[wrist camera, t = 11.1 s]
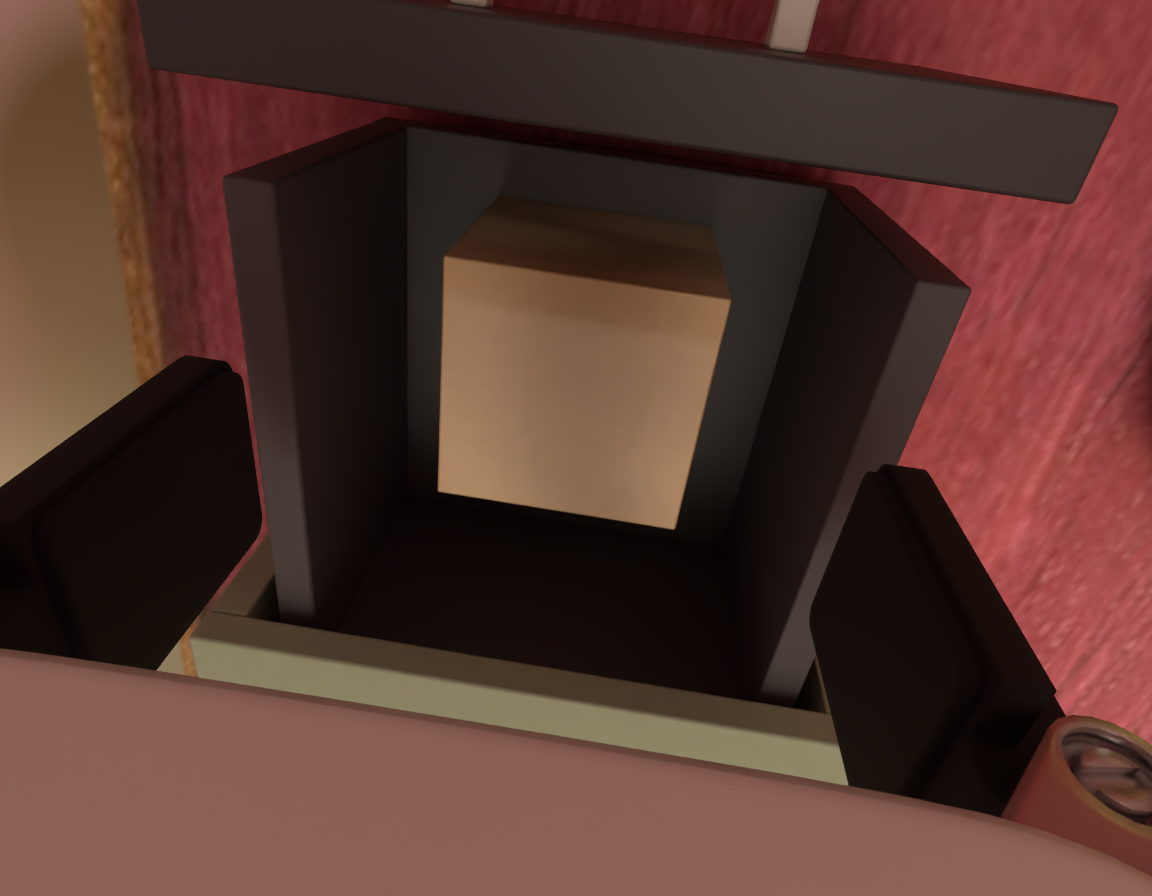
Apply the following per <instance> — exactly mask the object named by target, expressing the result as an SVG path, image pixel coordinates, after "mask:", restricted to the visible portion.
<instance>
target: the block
mask: <svg viewBox="0 0 1152 896" xmlns="http://www.w3.org/2000/svg"><path fill="white" fill-rule="evenodd" d="M730 306H731V297H730V293H729V289H728V285H727V281H726V277H725V273H724V269H723V265H722V261H721V257H720V253H719V248H718V244H717V240H716V236H715V232H714V228H713V227H710V226H703V225H696V224H690V223H683V222H676V221H670V220H663V219H657V218H650V217H643V216H637V215H630V214H623V213H617V212H610V211H603V210H597V209H590V208H584V207H577V206H570V205H564V204H557V203H550V202H544V201H537V200H531V199H524V198H517V197H511V196H504V195H500V196H499V197H498V198H497V199H496V200H495V201H494V202H493V203H492V204H491V205H490V206H489V208H488V209H487V210H486V211H485V212H484V213H483V214H482V215H481V216H480V217H479V219H478V220H477V221H476V222H475V223H474V224H473V225H472V226H471V227H470V228H469V229H468V231H467V232H466V233H465V234H464V235H463V236H462V237H461V238H460V239H459V240H458V242H457V243H456V244H455V245H454V246H453V247H452V248H451V249H450V250H449V251H448V252H447V254H446V255H445V256H444V258H443V295H442V335H441V375H440V415H439V455H438V491H439V492H443V493H450V494H456V495H462V496H468V497H474V498H480V499H487V500H493V501H499V502H505V503H511V504H518V505H524V506H530V507H536V508H542V509H549V510H555V511H561V512H567V513H573V514H580V515H586V516H592V517H598V518H604V519H611V520H617V521H623V522H629V523H635V524H642V525H648V526H654V527H660V528H666V529H675V528H676V524H677V520H678V516H679V512H680V508H681V504H682V500H683V496H684V492H685V488H686V484H687V480H688V476H689V472H690V468H691V464H692V460H693V456H694V452H695V447H696V443H697V439H698V435H699V431H700V427H701V423H702V419H703V415H704V411H705V407H706V403H707V399H708V395H709V391H710V387H711V383H712V379H713V375H714V371H715V367H716V363H717V359H718V355H719V351H720V346H721V342H722V338H723V334H724V330H725V326H726V322H727V318H728V314H729V310H730Z"/></svg>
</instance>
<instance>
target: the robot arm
mask: <svg viewBox="0 0 1152 896" xmlns="http://www.w3.org/2000/svg"><path fill="white" fill-rule="evenodd" d="M261 524H262V512H261V505H260V498H259V491H258V484H257V476H256V469H255V462H254V455H253V448H252V441H251V433H250V426H249V419H248V412H247V405H246V398H245V391H244V384H243V380H242V378H241V376H240V375H239V374H238V373H235V372H233V371H232V368H231V367H230V365H229V364H228V363H227V362H225V361H220V360H213V359H207V358H201V357H194V356H186V355H185V356H183V357H181V358H179V359H177V360H176V361H175V362H173V363H172V364H171V365H169V366H168V367H166V368H165V369H164V370H162V371H161V372H159V373H158V374H157V375H155V376H154V377H152V378H151V379H150V380H148V381H147V382H146V383H144V384H143V385H141V386H140V387H139V388H137V389H136V390H134V391H133V392H132V393H130V394H129V395H128V396H126V397H125V398H123V399H122V400H121V401H119V402H118V403H116V404H115V405H114V406H112V407H111V408H110V409H108V410H107V411H106V412H104V413H103V414H101V415H100V416H98V417H97V418H96V419H94V420H93V421H92V422H90V423H89V424H87V425H86V426H85V427H83V428H82V429H81V430H79V431H78V432H76V433H75V434H74V435H72V436H71V437H69V438H68V439H67V440H65V441H64V442H62V443H61V444H60V445H58V446H57V447H55V448H54V449H53V450H51V451H50V452H49V453H47V454H46V455H44V456H43V457H42V458H40V459H39V460H37V461H36V462H35V463H33V464H32V465H31V466H29V467H28V468H26V469H25V470H24V471H22V472H21V473H19V474H18V475H17V476H15V477H14V478H12V479H11V480H10V481H9V482H7V483H6V484H4V485H3V486H1V487H0V896H1152V745H1150V744H1149V743H1147V742H1146V741H1144V740H1143V739H1142V738H1140V737H1139V736H1137V735H1135V734H1133V733H1131V732H1129V731H1127V730H1125V729H1123V728H1121V727H1119V726H1117V725H1115V724H1113V723H1110V722H1107V721H1103V720H1100V719H1097V718H1094V717H1088V716H1077V715H1071V716H1066V715H1065V714H1064V712H1063V710H1062V709H1061V707H1060V705H1059V703H1058V702H1057V700H1056V698H1055V696H1054V694H1055V693H1056V689H1055V687H1054V686H1053V684H1052V682H1051V681H1050V679H1049V677H1048V675H1047V674H1046V672H1045V670H1044V669H1043V667H1042V665H1041V664H1040V662H1039V660H1038V658H1037V657H1036V655H1035V653H1034V652H1033V650H1032V648H1031V646H1030V645H1029V643H1028V641H1027V640H1026V638H1025V636H1024V635H1023V633H1022V631H1021V629H1020V628H1019V626H1018V624H1017V623H1016V621H1015V619H1014V618H1013V616H1012V614H1011V612H1010V611H1009V609H1008V607H1007V606H1006V604H1005V602H1004V601H1003V599H1002V597H1001V595H1000V594H999V592H998V590H997V589H996V587H995V585H994V583H993V582H992V580H991V578H990V577H989V575H988V573H987V572H986V570H985V568H984V566H983V565H982V563H981V561H980V560H979V558H978V556H977V555H976V553H975V551H974V549H973V548H972V546H971V544H970V543H969V541H968V539H967V538H966V536H965V534H964V532H963V531H962V529H961V527H960V526H959V524H958V522H957V520H956V519H955V517H954V515H953V514H952V512H951V510H950V509H949V507H948V505H947V503H946V502H945V500H944V498H943V497H942V495H941V493H940V492H939V490H938V488H937V486H936V485H935V483H934V481H933V480H932V478H931V476H930V475H929V473H928V472H927V471H926V470H922V469H916V468H910V467H903V466H897V465H891V464H884V465H881V467H880V468H879V469H878V470H877V472H872V471H869V472H867V473H866V474H865V475H864V477H863V479H862V481H861V484H860V486H859V488H858V491H857V493H856V496H855V498H854V501H853V503H852V506H851V508H850V511H849V513H848V516H847V518H846V521H845V523H844V526H843V528H842V530H841V533H840V535H839V538H838V540H837V543H836V545H835V548H834V550H833V553H832V555H831V558H830V560H829V563H828V565H827V568H826V570H825V572H824V575H823V577H822V580H821V582H820V585H819V587H818V590H817V592H816V595H815V597H814V600H813V602H812V605H811V609H810V616H809V625H810V631H811V635H812V639H813V643H814V647H815V651H816V655H817V659H818V663H819V667H820V671H821V675H822V680H823V684H824V688H825V692H826V696H827V700H828V704H829V708H830V712H831V716H832V720H833V724H834V728H835V732H836V736H837V740H838V745H839V749H840V753H841V757H842V761H843V765H844V769H845V773H846V777H847V781H848V785H849V786H846V785H841V784H835V783H830V782H824V781H819V780H813V779H808V778H803V777H797V776H792V775H787V774H781V773H775V772H769V771H763V770H758V769H752V768H746V767H740V766H734V765H728V764H722V763H716V762H710V761H705V760H699V759H693V758H687V757H681V756H675V755H669V754H663V753H657V752H652V751H646V750H640V749H634V748H628V747H622V746H616V745H610V744H605V743H599V742H593V741H587V740H581V739H575V738H569V737H563V736H557V735H551V734H545V733H539V732H533V731H527V730H521V729H514V728H508V727H502V726H496V725H490V724H484V723H478V722H472V721H466V720H460V719H454V718H448V717H442V716H436V715H429V714H423V713H417V712H411V711H405V710H399V709H393V708H386V707H380V706H374V705H368V704H362V703H356V702H350V701H344V700H337V699H331V698H325V697H319V696H312V695H306V694H300V693H293V692H287V691H281V690H275V689H268V688H262V687H256V686H249V685H243V684H237V683H230V682H224V681H218V680H211V679H205V678H199V677H192V676H186V675H179V674H174V673H167V672H161V671H156V670H157V669H158V667H159V666H160V665H161V663H162V662H163V661H164V660H165V658H166V657H167V656H168V654H169V653H170V651H171V650H172V649H173V648H174V646H175V645H176V644H177V643H178V641H179V640H180V639H181V637H182V636H183V635H184V633H185V632H186V631H187V629H188V628H189V627H190V625H191V624H192V623H193V622H194V620H195V619H196V618H197V616H198V615H199V614H200V612H201V611H202V610H203V608H204V607H205V606H206V605H207V603H208V602H209V601H210V599H211V598H212V597H213V595H214V594H215V593H216V591H217V590H218V589H219V587H220V586H221V585H222V584H223V582H224V581H225V580H226V578H227V577H228V576H229V574H230V573H231V572H232V570H233V569H234V568H235V567H236V565H237V564H238V563H239V561H240V560H241V559H242V557H243V556H244V555H245V553H246V552H247V551H248V550H249V548H250V547H251V546H252V544H253V543H254V542H255V540H256V539H257V537H258V535H259V532H260V529H261Z"/></svg>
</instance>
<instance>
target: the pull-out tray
mask: <svg viewBox="0 0 1152 896" xmlns="http://www.w3.org/2000/svg"><path fill="white" fill-rule="evenodd" d="M137 4H138V10H139V16H140V21H141V27H142V33H143V39H144V45H145V51H146V57H147V62H148V65H149V67H151V68H153V69H156V70H163V71H170V72H177V73H184V74H190V75H197V76H204V77H211V78H217V79H224V80H231V81H238V82H244V83H251V84H258V85H265V86H271V87H278V88H285V89H292V90H298V91H305V92H312V93H319V94H326V95H332V96H339V97H346V98H353V99H359V100H366V101H373V102H380V103H386V104H393V105H400V106H407V107H413V108H420V109H427V110H434V111H441V112H447V113H454V114H461V115H468V116H474V117H481V118H488V119H495V120H501V121H508V122H515V123H522V124H528V125H535V126H542V127H549V128H555V129H562V130H569V131H576V132H583V133H589V134H596V135H603V136H610V137H616V138H623V139H630V140H637V141H643V142H650V143H657V144H664V145H670V146H677V147H684V148H691V149H697V150H704V151H711V152H718V153H725V154H731V155H738V156H745V157H752V158H758V159H765V160H772V161H779V162H785V163H792V164H799V165H806V166H812V167H819V168H826V169H833V170H840V171H846V172H853V173H860V174H867V175H873V176H880V177H887V178H894V179H900V180H907V181H914V182H921V183H927V184H934V185H941V186H948V187H954V188H961V189H968V190H975V191H982V192H988V193H995V194H1002V195H1009V196H1015V197H1022V198H1029V199H1036V200H1042V201H1049V202H1056V203H1063V204H1071V203H1073V202H1074V201H1075V200H1076V198H1077V196H1078V194H1079V192H1080V190H1081V187H1082V185H1083V183H1084V181H1085V179H1086V177H1087V175H1088V173H1089V171H1090V169H1091V166H1092V164H1093V162H1094V160H1095V158H1096V156H1097V154H1098V152H1099V150H1100V147H1101V145H1102V143H1103V141H1104V139H1105V137H1106V135H1107V133H1108V131H1109V128H1110V126H1111V124H1112V122H1113V120H1114V118H1115V116H1116V114H1117V112H1118V106H1117V105H1116V104H1114V103H1109V102H1104V101H1099V100H1093V99H1088V98H1083V97H1077V96H1072V95H1067V94H1062V93H1056V92H1051V91H1046V90H1041V89H1035V88H1030V87H1025V86H1020V85H1014V84H1009V83H1004V82H998V81H993V80H988V79H983V78H977V77H972V76H967V75H962V74H956V73H951V72H946V71H941V70H935V69H930V68H925V67H919V66H912V65H905V64H898V63H891V62H884V61H877V60H870V59H863V58H857V57H850V56H843V55H836V54H829V53H822V52H815V51H808V50H807V47H808V43H809V39H810V35H811V31H812V27H813V24H814V20H815V16H816V12H817V8H818V4H819V0H774V4H773V8H772V13H771V17H770V21H769V26H768V30H767V35H766V39H765V44H759V43H752V42H745V41H738V40H731V39H725V38H718V37H711V36H704V35H697V34H690V33H683V32H676V31H669V30H662V29H655V28H648V27H641V26H634V25H627V24H620V23H613V22H606V21H599V20H592V19H586V18H579V17H572V16H565V15H558V14H551V13H544V12H537V11H530V10H523V9H516V8H509V7H502V6H495V5H493V0H137ZM223 189H224V196H225V204H226V211H227V219H228V226H229V234H230V241H231V249H232V257H233V264H234V272H235V279H236V287H237V294H238V302H239V310H240V317H241V325H242V332H243V340H244V347H245V355H246V363H247V370H248V378H249V385H250V393H251V400H252V408H253V416H254V423H255V431H256V438H257V446H258V453H259V461H260V468H261V476H262V484H263V491H264V499H265V506H266V514H267V521H268V529H269V537H270V544H271V552H272V559H273V567H274V574H275V582H276V590H277V597H278V605H279V612H280V620H281V623H284V624H290V625H296V626H302V627H308V628H314V629H320V630H326V631H332V632H338V633H344V634H350V635H356V636H362V637H368V638H374V639H380V640H386V641H392V642H398V643H404V644H411V645H417V646H423V647H429V648H435V649H441V650H447V651H453V652H459V653H465V654H471V655H477V656H483V657H489V658H495V659H501V660H507V661H513V662H519V663H525V664H531V665H537V666H543V667H549V668H555V669H561V670H567V671H573V672H579V673H585V674H591V675H597V676H603V677H609V678H615V679H621V680H627V681H633V682H639V683H645V684H651V685H657V686H663V687H669V688H675V689H681V690H687V691H693V692H699V693H705V694H711V695H717V696H723V697H729V698H735V699H741V700H747V701H753V702H759V703H765V704H771V705H777V706H783V707H789V708H793V707H794V705H795V702H796V700H797V698H798V695H799V693H800V691H801V688H802V686H803V684H804V681H805V679H806V677H807V674H808V672H809V670H810V667H811V665H812V663H813V660H814V658H815V656H816V651H815V647H814V643H813V639H812V635H811V631H810V625H809V616H810V609H811V605H812V602H813V600H814V597H815V595H816V592H817V590H818V587H819V585H820V582H821V580H822V577H823V575H824V572H825V570H826V568H827V565H828V563H829V560H830V558H831V555H832V553H833V550H834V548H835V545H836V543H837V540H838V538H839V535H840V533H841V530H842V528H843V526H844V523H845V521H846V518H847V516H848V513H849V511H850V508H851V506H852V503H853V501H854V498H855V496H856V493H857V491H858V488H859V486H860V484H861V481H862V479H863V477H864V475H865V474H866V473H867V472H869V471H872V472H877V470H878V469H879V468H880V467H881V465H884V464H891V465H897V464H898V462H899V459H900V457H901V455H902V452H903V450H904V448H905V445H906V443H907V441H908V438H909V436H910V434H911V431H912V429H913V427H914V424H915V422H916V420H917V417H918V415H919V413H920V410H921V408H922V406H923V403H924V401H925V399H926V396H927V394H928V392H929V389H930V387H931V385H932V382H933V380H934V378H935V375H936V373H937V371H938V368H939V366H940V364H941V361H942V359H943V357H944V354H945V352H946V350H947V347H948V345H949V343H950V340H951V338H952V336H953V333H954V331H955V329H956V326H957V324H958V322H959V319H960V317H961V315H962V312H963V310H964V308H965V305H966V303H967V300H968V298H969V296H970V293H971V288H970V287H969V286H967V285H966V284H965V283H964V282H963V281H962V280H961V279H959V278H958V277H957V276H956V275H955V274H954V273H953V272H951V271H950V270H949V269H948V268H947V267H946V266H945V265H943V264H942V263H941V262H940V261H939V260H938V259H937V258H935V257H934V256H933V255H932V254H931V253H930V252H929V251H927V250H926V249H925V248H924V247H923V246H922V245H921V244H920V243H918V242H917V241H916V240H915V239H914V238H913V237H912V236H910V235H909V234H908V233H907V232H906V231H905V230H904V229H902V228H901V227H900V226H899V225H898V224H897V223H896V222H894V221H893V220H892V219H891V218H890V217H889V216H888V215H886V214H885V213H884V212H883V211H882V210H881V209H880V208H878V207H877V206H876V205H875V204H874V203H873V202H872V201H870V200H869V199H868V198H867V197H866V196H865V195H864V194H862V193H861V192H860V191H859V190H858V189H856V188H855V187H854V186H849V185H842V184H836V183H829V182H822V181H816V180H809V179H802V178H795V177H789V176H782V175H775V174H768V173H762V172H755V171H748V170H741V169H735V168H728V167H721V166H714V165H708V164H701V163H694V162H687V161H681V160H674V159H667V158H660V157H654V156H647V155H640V154H634V153H627V152H620V151H613V150H607V149H600V148H593V147H586V146H580V145H573V144H566V143H559V142H553V141H546V140H539V139H532V138H526V137H519V136H512V135H505V134H499V133H492V132H485V131H478V130H472V129H465V128H458V127H451V126H445V125H438V124H431V123H425V122H418V121H411V120H404V119H398V118H391V117H384V118H381V119H379V120H376V121H374V122H372V123H369V124H367V125H364V126H361V127H358V128H356V129H353V130H350V131H347V132H344V133H342V134H339V135H336V136H333V137H331V138H328V139H325V140H322V141H320V142H317V143H314V144H311V145H309V146H306V147H303V148H300V149H298V150H295V151H292V152H289V153H286V154H284V155H281V156H278V157H275V158H273V159H270V160H267V161H264V162H262V163H259V164H256V165H253V166H251V167H248V168H245V169H242V170H240V171H237V172H234V173H231V174H228V175H226V176H224V178H223ZM500 195H504V196H511V197H517V198H524V199H531V200H537V201H544V202H550V203H557V204H564V205H570V206H577V207H584V208H590V209H597V210H603V211H610V212H617V213H623V214H630V215H637V216H643V217H650V218H657V219H663V220H670V221H676V222H683V223H690V224H696V225H703V226H710V227H713V228H714V232H715V236H716V240H717V244H718V248H719V253H720V257H721V261H722V265H723V269H724V273H725V277H726V281H727V285H728V289H729V293H730V297H731V306H730V310H729V314H728V318H727V322H726V326H725V330H724V334H723V338H722V342H721V346H720V351H719V355H718V359H717V363H716V367H715V371H714V375H713V379H712V383H711V387H710V391H709V395H708V399H707V403H706V407H705V411H704V415H703V419H702V423H701V427H700V431H699V435H698V439H697V443H696V447H695V452H694V456H693V460H692V464H691V468H690V472H689V476H688V480H687V484H686V488H685V492H684V496H683V500H682V504H681V508H680V512H679V516H678V520H677V524H676V528H675V529H666V528H660V527H654V526H648V525H642V524H635V523H629V522H623V521H617V520H611V519H604V518H598V517H592V516H586V515H580V514H573V513H567V512H561V511H555V510H549V509H542V508H536V507H530V506H524V505H518V504H511V503H505V502H499V501H493V500H487V499H480V498H474V497H468V496H462V495H456V494H450V493H443V492H439V491H438V455H439V415H440V375H441V335H442V295H443V258H444V256H445V255H446V254H447V252H448V251H449V250H450V249H451V248H452V247H453V246H454V245H455V244H456V243H457V242H458V240H459V239H460V238H461V237H462V236H463V235H464V234H465V233H466V232H467V231H468V229H469V228H470V227H471V226H472V225H473V224H474V223H475V222H476V221H477V220H478V219H479V217H480V216H481V215H482V214H483V213H484V212H485V211H486V210H487V209H488V208H489V206H490V205H491V204H492V203H493V202H494V201H495V200H496V199H497V198H498V197H499V196H500Z"/></svg>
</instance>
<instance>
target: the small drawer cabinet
mask: <svg viewBox="0 0 1152 896" xmlns="http://www.w3.org/2000/svg"><path fill="white" fill-rule="evenodd" d="M190 644H191V649H192V653H193V657H194V662H195V666H196V670H197V675H198V677H199V678H205V679H211V680H218V681H224V682H230V683H237V684H243V685H249V686H256V687H262V688H268V689H275V690H281V691H287V692H293V693H300V694H306V695H312V696H319V697H325V698H331V699H337V700H344V701H350V702H356V703H362V704H368V705H374V706H380V707H386V708H393V709H399V710H405V711H411V712H417V713H423V714H429V715H436V716H442V717H448V718H454V719H460V720H466V721H472V722H478V723H484V724H490V725H496V726H502V727H508V728H514V729H521V730H527V731H533V732H539V733H545V734H551V735H557V736H563V737H569V738H575V739H581V740H587V741H593V742H599V743H605V744H610V745H616V746H622V747H628V748H634V749H640V750H646V751H652V752H657V753H663V754H669V755H675V756H681V757H687V758H693V759H699V760H705V761H710V762H716V763H722V764H728V765H734V766H740V767H746V768H752V769H758V770H763V771H769V772H775V773H781V774H787V775H792V776H797V777H803V778H808V779H813V780H819V781H824V782H830V783H835V784H841V785H846V786H849V785H848V781H847V777H846V773H845V769H844V765H843V761H842V757H841V753H840V749H839V745H838V740H837V736H836V732H835V728H834V724H833V720H832V716H831V712H830V708H829V704H828V700H827V696H826V692H825V688H824V684H823V680H822V675H821V671H820V667H819V663H818V659H817V655H816V656H815V658H814V660H813V663H812V665H811V667H810V670H809V672H808V674H807V677H806V679H805V681H804V684H803V686H802V688H801V691H800V693H799V695H798V698H797V700H796V702H795V705H794V707H793V708H789V707H783V706H777V705H771V704H765V703H759V702H753V701H747V700H741V699H735V698H729V697H723V696H717V695H711V694H705V693H699V692H693V691H687V690H681V689H675V688H669V687H663V686H657V685H651V684H645V683H639V682H633V681H627V680H621V679H615V678H609V677H603V676H597V675H591V674H585V673H579V672H573V671H567V670H561V669H555V668H549V667H543V666H537V665H531V664H525V663H519V662H513V661H507V660H501V659H495V658H489V657H483V656H477V655H471V654H465V653H459V652H453V651H447V650H441V649H435V648H429V647H423V646H417V645H411V644H404V643H398V642H392V641H386V640H380V639H374V638H368V637H362V636H356V635H350V634H344V633H338V632H332V631H326V630H320V629H314V628H308V627H302V626H296V625H290V624H284V623H281V620H280V612H279V605H278V597H277V590H276V582H275V574H274V567H273V559H272V552H271V544H270V537H269V533H268V534H267V535H266V537H265V538H264V539H263V541H262V542H261V543H260V545H259V546H258V547H257V548H256V550H255V551H254V552H253V554H252V555H251V556H250V558H249V559H248V560H247V562H246V563H245V564H244V565H243V567H242V568H241V569H240V571H239V572H238V573H237V575H236V576H235V577H234V579H233V580H232V581H231V583H230V584H229V585H228V586H227V588H226V589H225V590H224V592H223V593H222V594H221V596H220V597H219V598H218V600H217V601H216V602H215V603H214V605H213V606H212V607H211V612H209V613H208V614H207V615H206V616H205V618H204V619H203V620H202V621H201V623H200V624H199V625H198V627H197V628H196V629H195V631H194V632H193V633H192V635H191V636H190Z"/></svg>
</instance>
